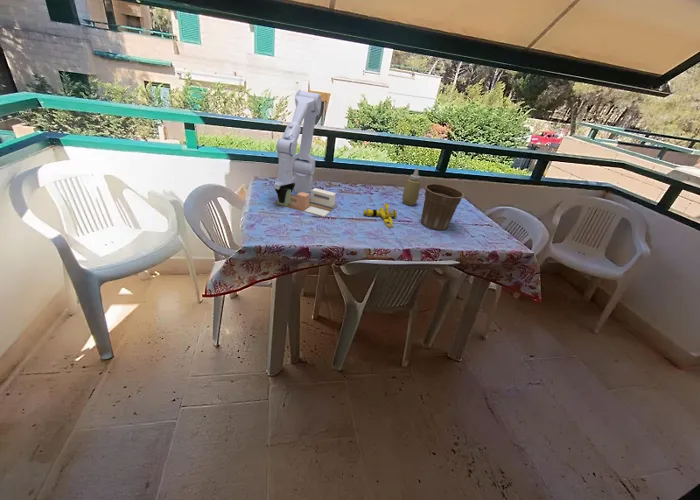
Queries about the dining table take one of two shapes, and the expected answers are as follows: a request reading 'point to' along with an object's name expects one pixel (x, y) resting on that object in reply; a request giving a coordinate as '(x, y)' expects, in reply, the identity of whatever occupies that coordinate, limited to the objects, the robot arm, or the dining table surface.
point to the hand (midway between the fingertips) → (284, 200)
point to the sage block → (286, 198)
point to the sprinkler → (383, 214)
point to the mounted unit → (323, 198)
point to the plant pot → (439, 205)
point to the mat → (317, 211)
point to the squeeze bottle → (412, 189)
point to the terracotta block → (303, 200)
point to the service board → (293, 206)
